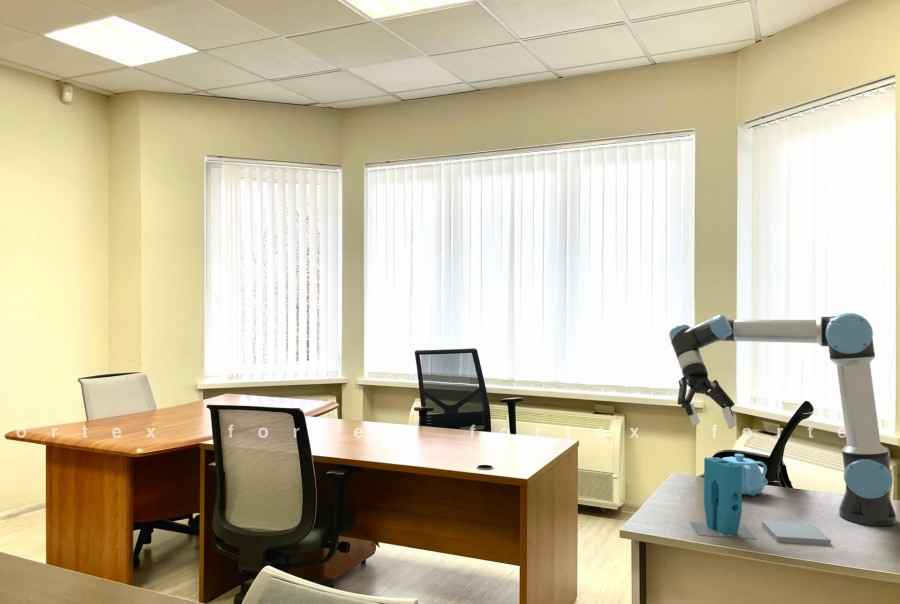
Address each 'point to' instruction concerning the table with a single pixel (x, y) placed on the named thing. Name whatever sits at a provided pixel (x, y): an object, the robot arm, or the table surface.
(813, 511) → the table surface
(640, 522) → the table surface
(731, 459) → the decorative pot
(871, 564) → the table surface
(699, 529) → the mat
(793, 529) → the pad
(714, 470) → the block
